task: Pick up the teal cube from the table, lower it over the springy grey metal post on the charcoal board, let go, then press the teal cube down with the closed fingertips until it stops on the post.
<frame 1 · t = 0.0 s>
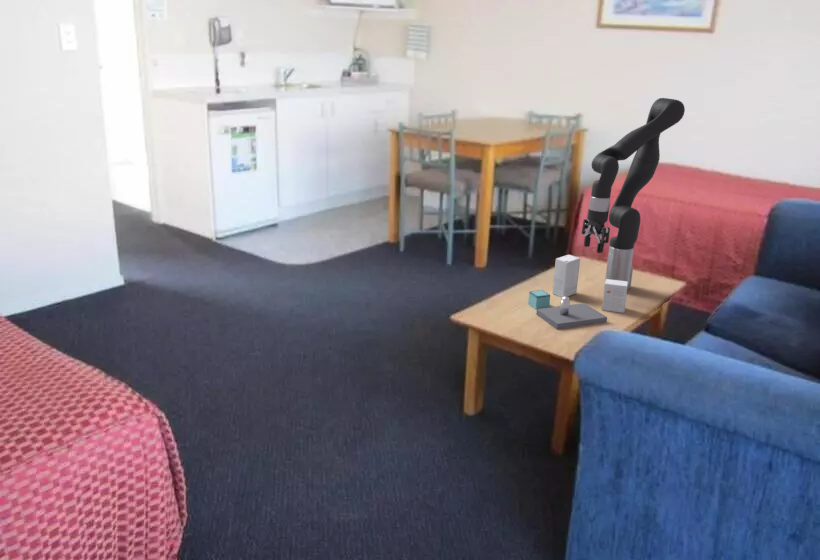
hand: (592, 249, 263), 17 cm above the table, tool pointing down, fingers open, 8 cm apart
teal cube: (538, 305, 254), on the table
post: (565, 304, 240), point 5 cm above the table, slide at 0.0 cm
board: (570, 318, 243), on the table
small box: (613, 309, 252), on the table
skincare box: (564, 294, 266), on the table
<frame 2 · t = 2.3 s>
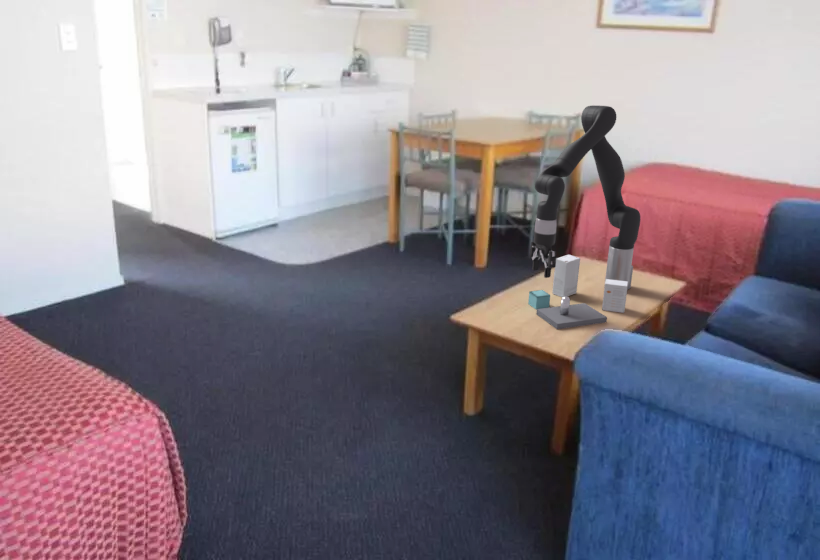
hand: (541, 273, 249), 13 cm above the table, tool pointing down, fingers open, 8 cm apart
nothing on the table moved.
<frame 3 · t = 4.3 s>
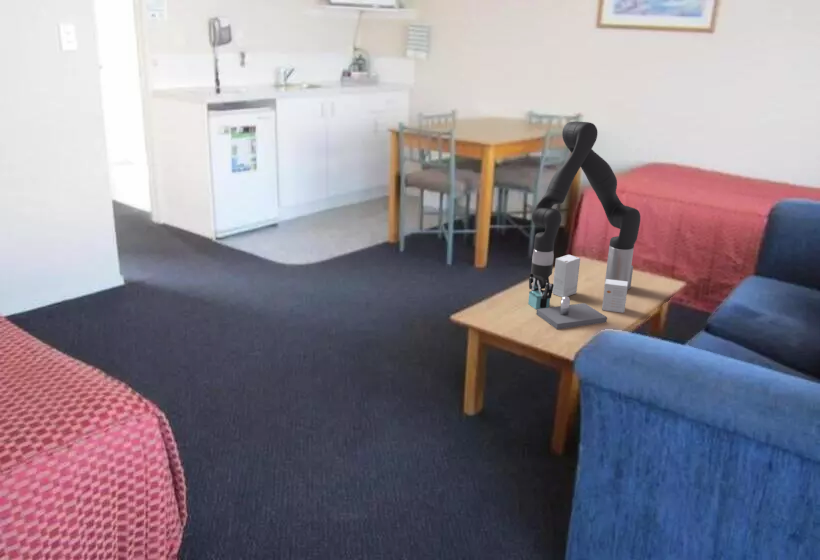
hand: (538, 304, 253), 1 cm above the table, tool pointing down, fingers closed on teal cube, 5 cm apart
teal cube: (538, 305, 254), on the table, touching gripper
everything else where it was.
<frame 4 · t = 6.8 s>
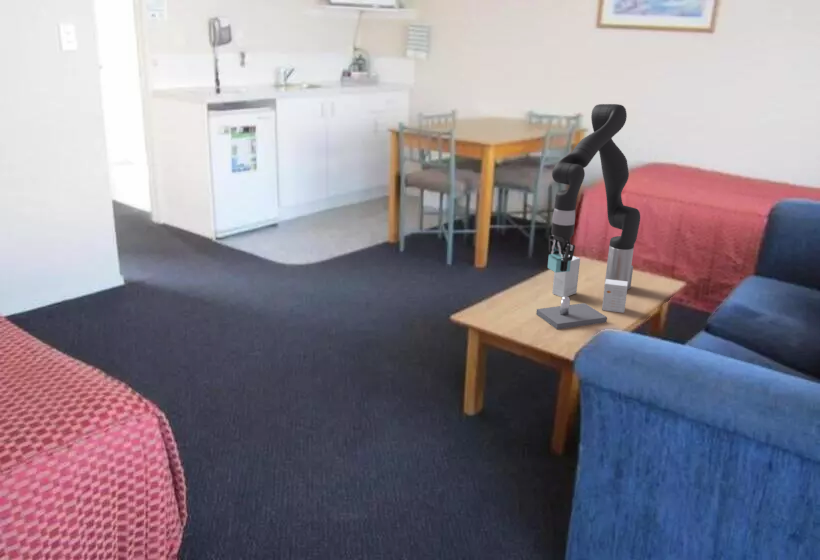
hand: (558, 268, 240), 18 cm above the table, tool pointing down, fingers closed on teal cube, 5 cm apart
teal cube: (558, 269, 240), point 17 cm above the table, touching gripper
everything else where it was.
when the fingers open (6 cm above the table, at t = 9.7 s): teal cube drops 1 cm, resting on post.
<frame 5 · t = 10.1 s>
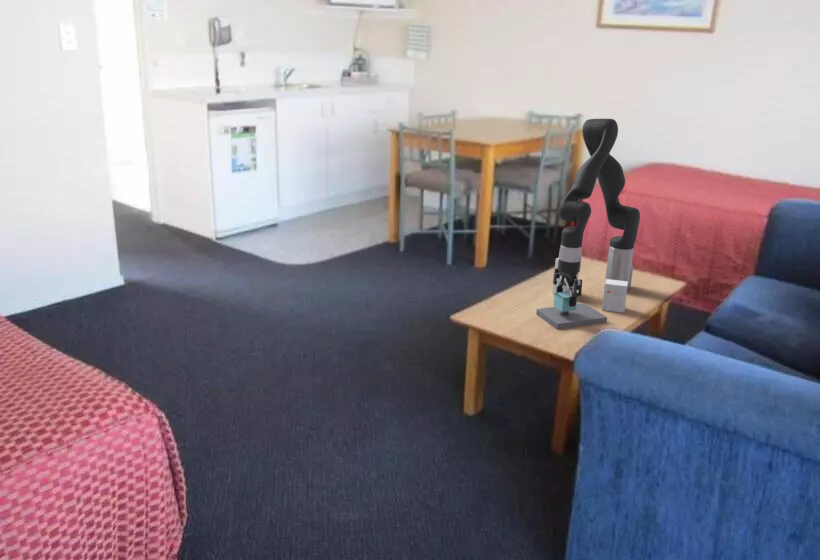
hand: (565, 301, 240), 7 cm above the table, tool pointing down, fingers open, 8 cm apart
teal cube: (564, 307, 240), point 4 cm above the table, touching post
post: (565, 304, 240), point 5 cm above the table, slide at 0.0 cm, touching teal cube
everything else where it was.
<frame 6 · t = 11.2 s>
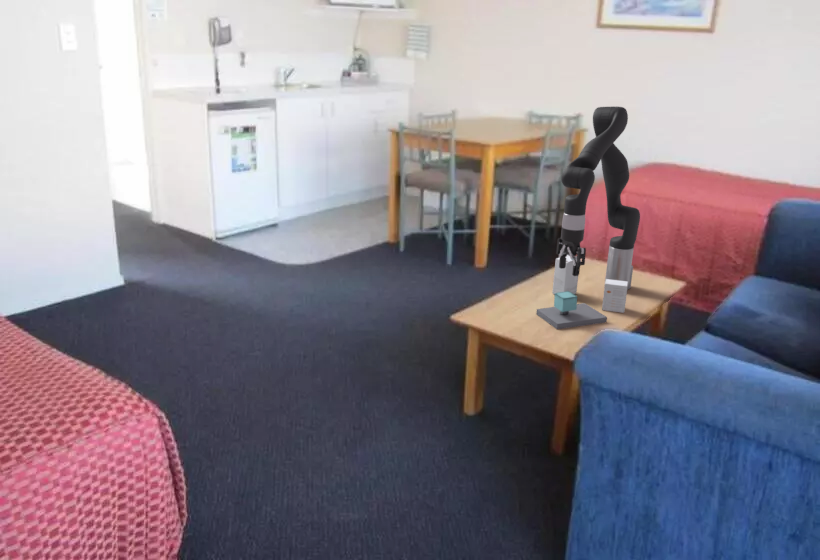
hand: (568, 271, 236), 18 cm above the table, tool pointing down, fingers open, 8 cm apart
nothing on the table moved.
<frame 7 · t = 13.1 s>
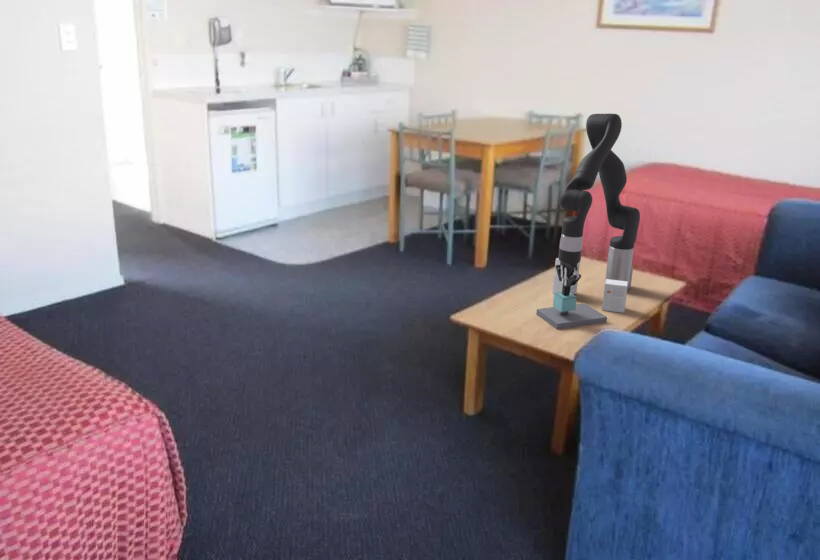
hand: (565, 295, 239), 9 cm above the table, tool pointing down, fingers closed
teal cube: (564, 308, 240), point 4 cm above the table, touching gripper, post
everything else where it was.
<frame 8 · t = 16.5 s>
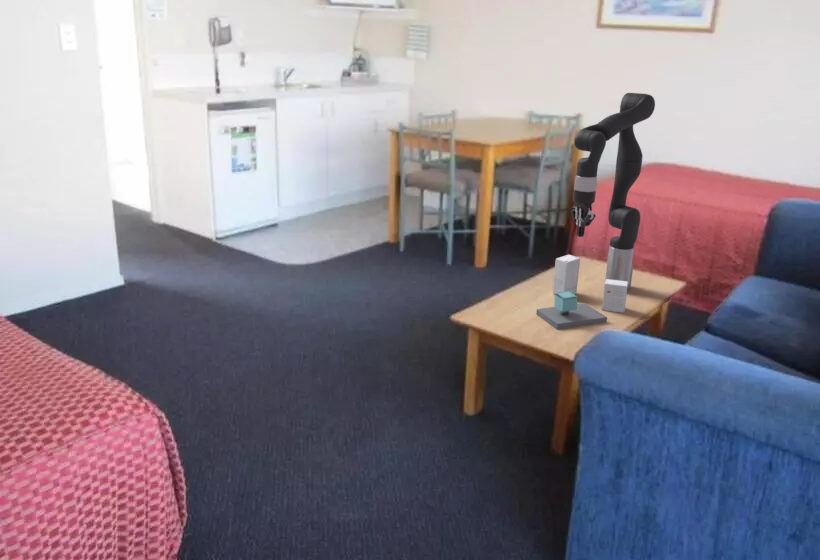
hand: (579, 236, 245), 27 cm above the table, tool pointing down, fingers closed
teal cube: (565, 307, 241), point 4 cm above the table, touching post
everything else where it was.
at the end: teal cube 0.2 cm from the post (horizontally); teal cube point 4.3 cm above the table; teal cube tilted 3° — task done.
